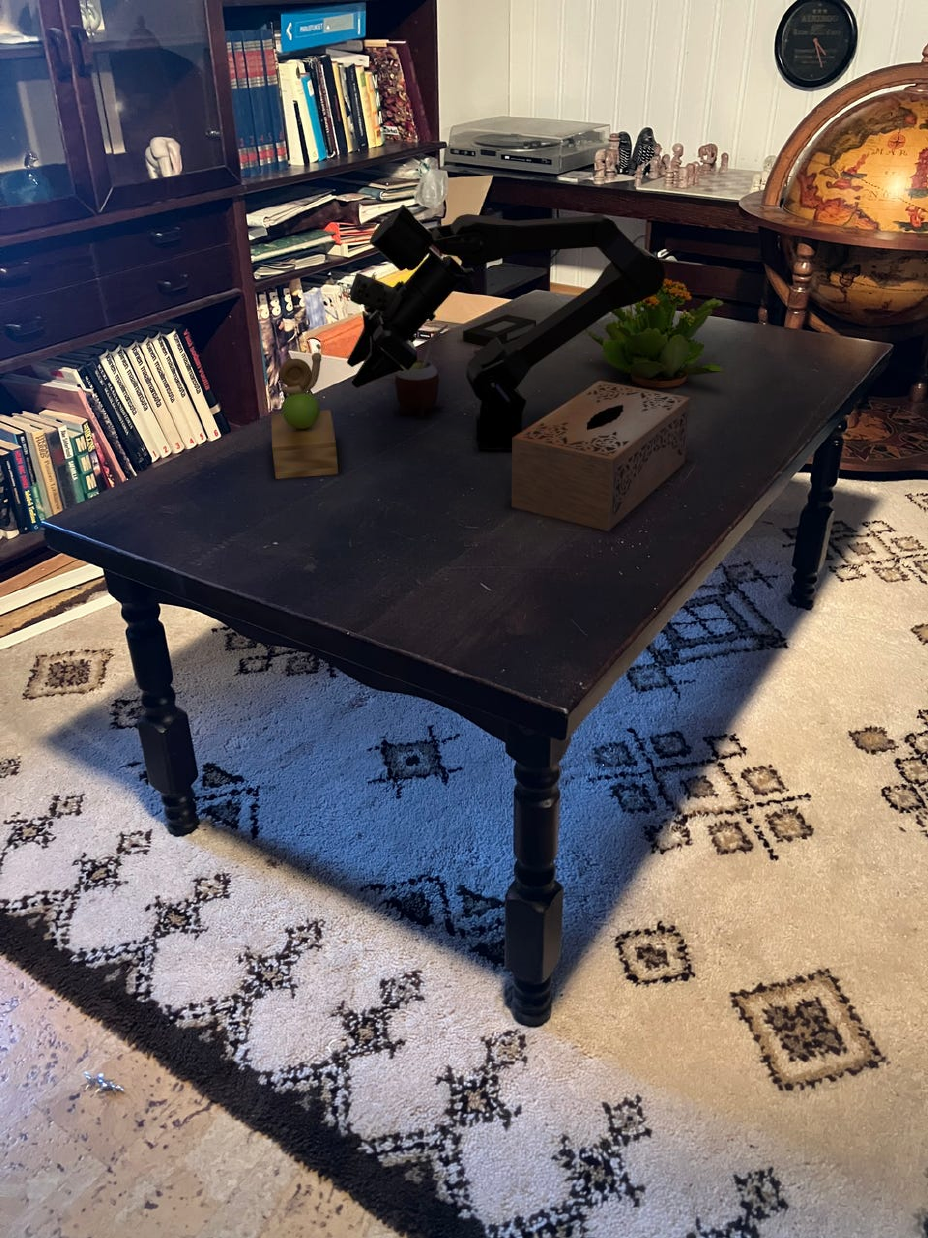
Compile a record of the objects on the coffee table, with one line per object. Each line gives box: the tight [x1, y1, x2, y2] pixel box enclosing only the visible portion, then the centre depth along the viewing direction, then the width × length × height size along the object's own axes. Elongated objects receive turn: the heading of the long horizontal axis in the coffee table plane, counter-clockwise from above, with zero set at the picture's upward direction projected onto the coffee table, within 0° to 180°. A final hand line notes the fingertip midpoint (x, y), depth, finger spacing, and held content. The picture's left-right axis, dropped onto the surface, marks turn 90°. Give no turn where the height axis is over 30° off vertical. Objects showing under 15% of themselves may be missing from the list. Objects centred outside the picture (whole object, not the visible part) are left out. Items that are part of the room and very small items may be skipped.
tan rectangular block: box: [270, 409, 339, 480], centre depth 156 cm, size 9×13×5 cm
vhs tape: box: [462, 314, 537, 347], centre depth 208 cm, size 8×14×2 cm, turn 141°
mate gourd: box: [394, 324, 449, 419], centre depth 170 cm, size 8×8×15 cm
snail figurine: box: [279, 343, 322, 429], centre depth 152 cm, size 5×6×12 cm
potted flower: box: [584, 277, 724, 389], centre depth 180 cm, size 25×24×18 cm
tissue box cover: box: [511, 380, 692, 533], centre depth 146 cm, size 26×14×10 cm, turn 148°
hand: (351, 374), depth 152 cm, fingers open, 9 cm apart
